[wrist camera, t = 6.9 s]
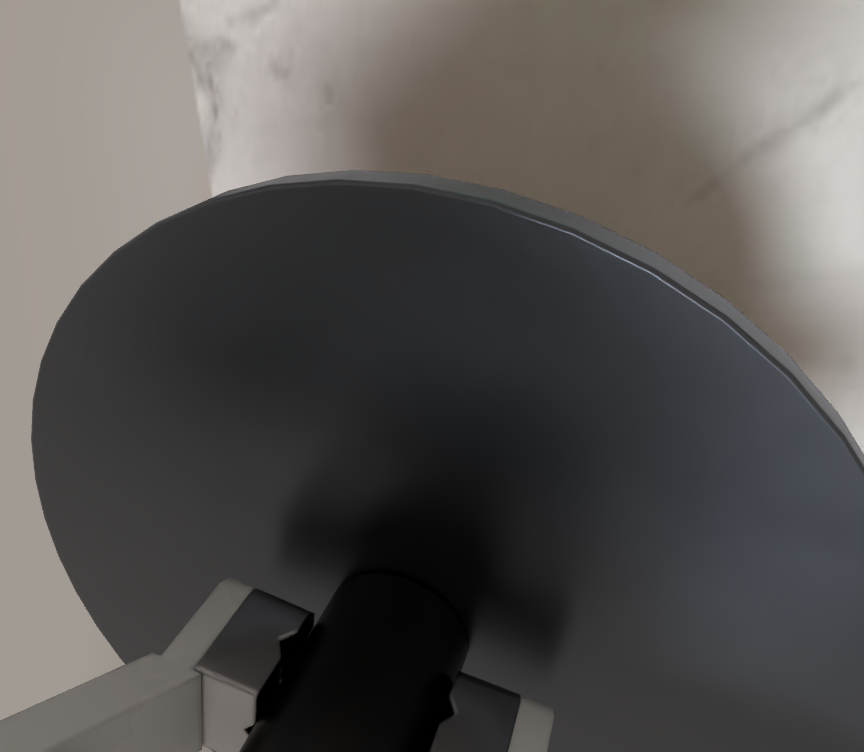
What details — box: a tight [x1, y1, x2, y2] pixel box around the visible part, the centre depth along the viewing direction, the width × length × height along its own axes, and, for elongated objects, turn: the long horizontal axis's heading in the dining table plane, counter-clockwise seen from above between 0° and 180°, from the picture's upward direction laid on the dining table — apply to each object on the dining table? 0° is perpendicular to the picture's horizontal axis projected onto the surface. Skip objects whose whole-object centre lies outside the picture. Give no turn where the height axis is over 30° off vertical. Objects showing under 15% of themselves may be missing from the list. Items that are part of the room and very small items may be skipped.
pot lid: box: [31, 170, 864, 752], centre depth 11 cm, size 15×15×5 cm
